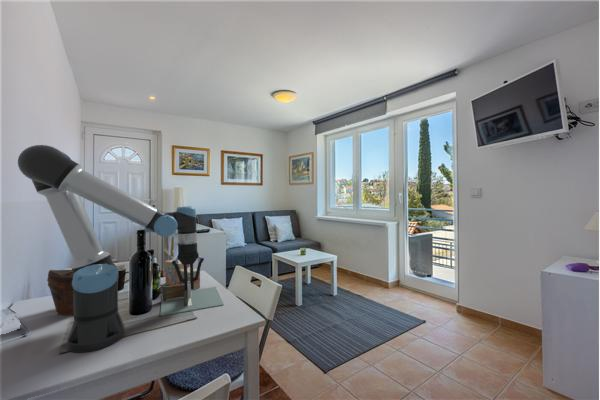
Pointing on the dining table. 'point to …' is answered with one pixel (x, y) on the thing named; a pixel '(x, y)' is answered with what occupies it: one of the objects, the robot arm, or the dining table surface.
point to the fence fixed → (173, 291)
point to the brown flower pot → (62, 290)
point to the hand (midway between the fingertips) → (189, 297)
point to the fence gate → (186, 298)
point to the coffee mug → (121, 277)
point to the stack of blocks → (173, 277)
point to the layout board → (192, 302)
